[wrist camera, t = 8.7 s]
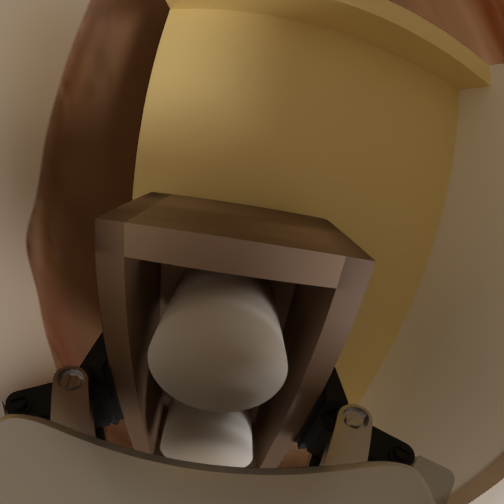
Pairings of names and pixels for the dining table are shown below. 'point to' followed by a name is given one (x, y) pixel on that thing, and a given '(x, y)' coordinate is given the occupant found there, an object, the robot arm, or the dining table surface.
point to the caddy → (222, 322)
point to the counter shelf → (359, 190)
